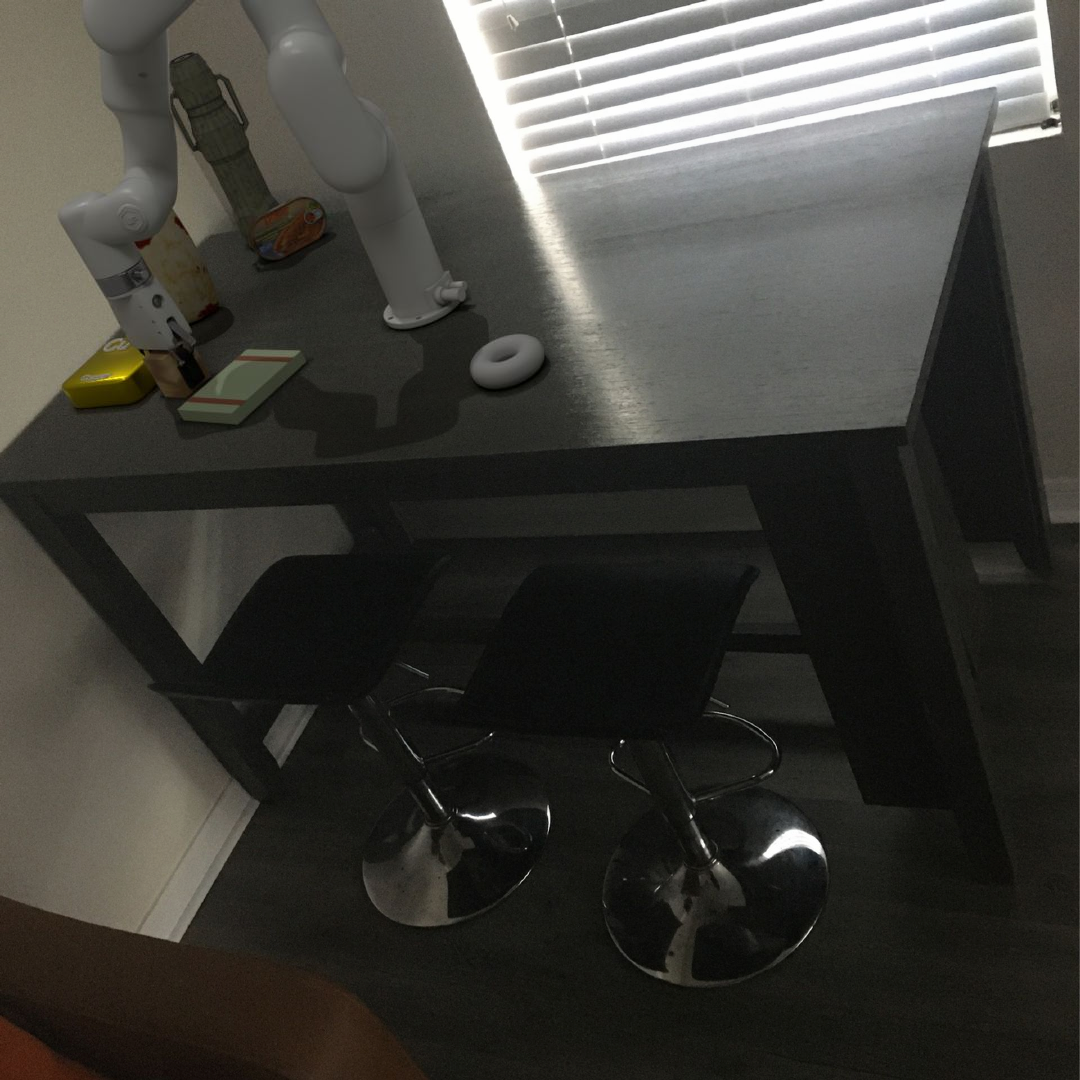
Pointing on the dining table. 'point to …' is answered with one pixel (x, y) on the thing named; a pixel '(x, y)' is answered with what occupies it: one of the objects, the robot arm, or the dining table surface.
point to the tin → (287, 227)
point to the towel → (242, 386)
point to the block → (171, 372)
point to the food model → (180, 269)
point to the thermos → (220, 137)
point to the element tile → (110, 377)
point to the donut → (507, 361)
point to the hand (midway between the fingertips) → (185, 381)
